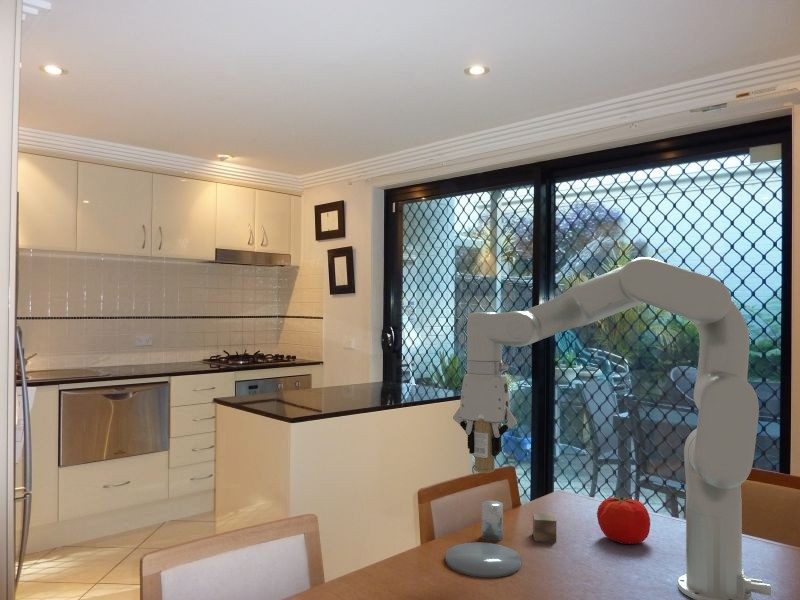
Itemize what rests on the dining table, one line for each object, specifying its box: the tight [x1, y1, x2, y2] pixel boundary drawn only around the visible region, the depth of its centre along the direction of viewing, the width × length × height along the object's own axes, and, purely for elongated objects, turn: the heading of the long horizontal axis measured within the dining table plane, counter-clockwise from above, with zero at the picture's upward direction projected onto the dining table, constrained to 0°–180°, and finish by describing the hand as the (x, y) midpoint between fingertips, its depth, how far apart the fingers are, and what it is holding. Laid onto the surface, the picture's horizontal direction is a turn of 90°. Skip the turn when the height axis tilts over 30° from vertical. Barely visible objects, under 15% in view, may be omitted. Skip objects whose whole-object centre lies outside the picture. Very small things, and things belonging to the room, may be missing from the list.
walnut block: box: [532, 512, 557, 543], centre depth 146 cm, size 5×5×5 cm
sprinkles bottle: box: [473, 414, 496, 474], centre depth 131 cm, size 5×5×13 cm
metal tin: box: [481, 500, 504, 542], centre depth 145 cm, size 5×5×8 cm
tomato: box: [596, 495, 651, 545], centre depth 144 cm, size 12×12×10 cm
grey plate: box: [445, 541, 522, 578], centre depth 131 cm, size 16×16×1 cm
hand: (484, 452), depth 131 cm, fingers closed on sprinkles bottle, 4 cm apart
